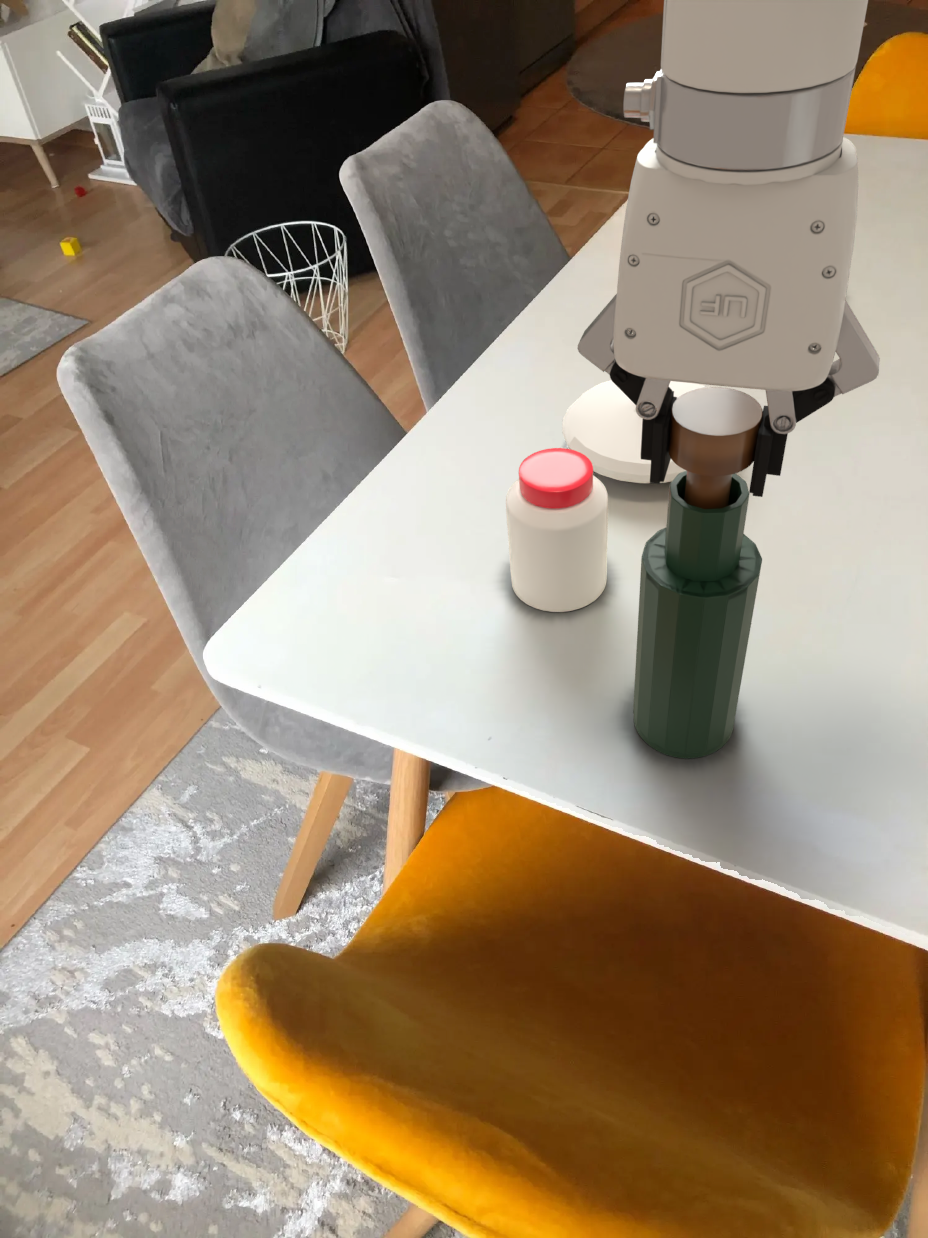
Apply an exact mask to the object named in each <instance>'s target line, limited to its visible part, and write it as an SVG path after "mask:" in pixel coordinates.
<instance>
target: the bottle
mask: <svg viewBox="0 0 928 1238" xmlns="http://www.w3.org/2000/svg"><path fill="white" fill-rule="evenodd" d="M686 477H687V471H684V472H681V473H679V474H678V475H677V476H676V477H675V478H674V480H673V481H671V482H670V484H669V486H668V500H667V514H666V525H665V527H664V528H661V529H659V530H657V531H656V532H655V533H654V534H653V535H652V536H651V537H650V538H649V539H648V540H647V541H645V544H644V548H643V550H642V554H641V560H640V561H641V563H640V577H639V597H638V612H637V613H638V614H637V615H638V616H637V617H638V618H637V633H636V649H635V650H636V651H635V668H634V669H635V671H634V687H633V688H634V689H633V706H632V707H633V708H632V709H633V710H632V713H633V723H634V727H635V730H636V731H637V734H638V735H639V737H640V738H641V739H642V740H643V741H644V742H645V743H646V745H648V746H649V747H650V748H652V749H654V750H655V751H657V752H659V753H660V754H663V755H665V756H668V757H673V758H678V759H697V758H703V757H706V756H709V755H711V754H714V753H715V752H717V751H719V750H720V749H721V748H723V747H724V746H725V745H726V744H727V743H728V741H730V738H731V736H732V734H733V731H734V726H735V720H736V714H737V710H738V709H737V708H738V702H739V697H740V691H741V685H742V680H743V675H744V674H743V673H744V668H745V661H746V656H747V650H748V644H749V639H750V633H751V628H752V622H753V617H754V609H755V603H756V598H757V593H758V587H759V582H760V581H759V580H760V576H761V575H760V574H761V569H762V563H763V557H762V555H761V552H760V550H759V548H758V546H757V544H756V542H754V541H753V540H752V539H751V538H749V537H748V536H747V535H746V534H745V526H746V520H747V513H748V507H749V500H750V493H749V487H748V482H747V481H746V480H744V479H743V478H742V477H741V476H740V475H739V474H738V473H735V474H732V480H731V488H730V495H729V502H728V506H726V507H724V508H722V509H702V508H699V507H696V506H692V505H689V504H687V503H686V502H685V501H684V498H685V488H686Z"/></svg>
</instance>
